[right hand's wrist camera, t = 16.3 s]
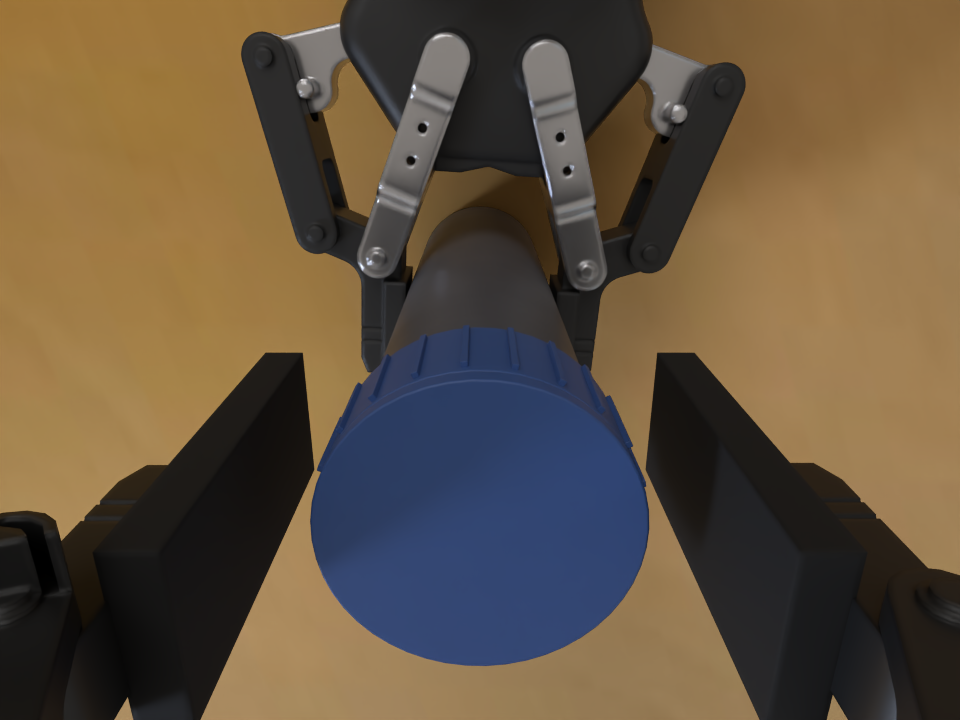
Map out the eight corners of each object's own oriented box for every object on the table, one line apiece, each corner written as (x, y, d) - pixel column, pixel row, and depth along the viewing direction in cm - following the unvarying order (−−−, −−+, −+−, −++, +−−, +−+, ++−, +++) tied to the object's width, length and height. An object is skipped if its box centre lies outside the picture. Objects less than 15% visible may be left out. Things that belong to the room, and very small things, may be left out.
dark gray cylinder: (503, 334, 28) (537, 661, 12) (405, 287, 28) (292, 564, 11) (556, 238, 27) (680, 455, 10) (454, 186, 26) (408, 327, 10)
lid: (678, 403, 12) (724, 471, 10) (533, 613, 13) (544, 712, 11) (413, 268, 11) (396, 310, 9) (293, 510, 13) (254, 596, 10)
